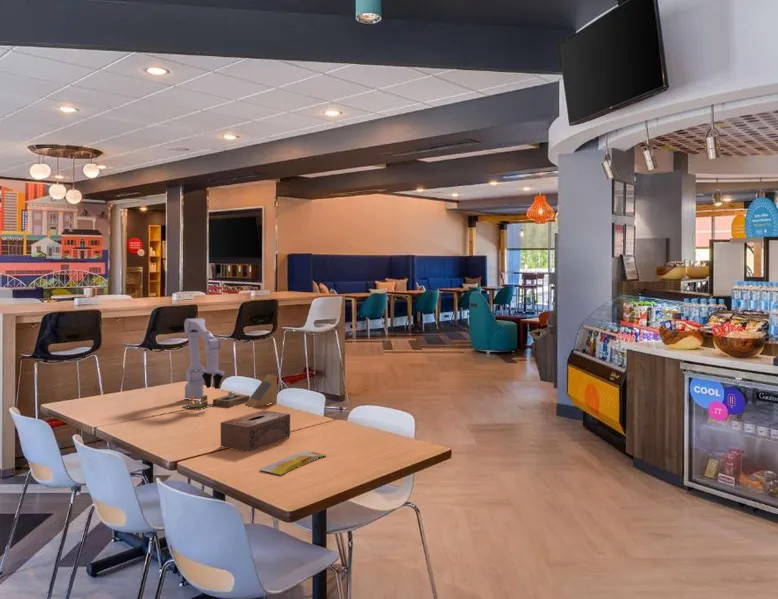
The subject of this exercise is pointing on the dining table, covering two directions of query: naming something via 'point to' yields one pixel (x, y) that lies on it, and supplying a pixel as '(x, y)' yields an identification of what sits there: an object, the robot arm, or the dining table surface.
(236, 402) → the slot block
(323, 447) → the dining table surface
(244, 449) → the tissue box cover
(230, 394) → the pin
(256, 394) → the sandwich container
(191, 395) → the nut base
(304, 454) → the food package
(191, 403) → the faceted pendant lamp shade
